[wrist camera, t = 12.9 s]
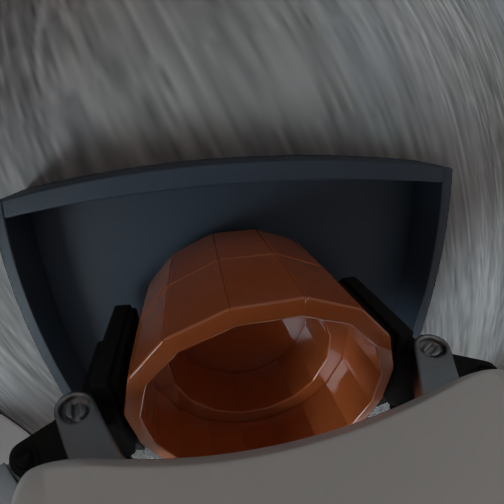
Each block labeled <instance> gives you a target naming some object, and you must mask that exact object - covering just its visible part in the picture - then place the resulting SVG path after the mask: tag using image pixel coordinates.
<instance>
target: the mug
mask: <svg viewBox="0 0 504 504" xmlns="http://www.w3.org/2000/svg"><path fill="white" fill-rule="evenodd" d="M29 436H31V435H30V434H28V433H27V432H26V431H25V430H23V429H22V428H21V427H19V426H18V425H17V424H15V423H14V422H12V421H11V420H9V419H8V418H6V417H5V416H3V415H2V414H0V465H1V464H2V463H5V464H7V465H8V464H9V455H10V452H11V450H12V449H13V447H14V446H15V445H17V444H18V443H19V442H21V441H23V440H24V439H26V438H27V437H29Z"/></svg>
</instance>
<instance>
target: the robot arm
mask: <svg viewBox="0 0 504 504" xmlns="http://www.w3.org/2000/svg"><path fill="white" fill-rule="evenodd" d="M339 282H340V283H341V284H342V285H343V286H344V287H345V288H346V289H347V290H348V292H349V293H350V294H351V295H352V296H353V297H354V298H355V299H356V300H357V301H358V302H359V303H360V304H361V305H362V306H363V307H364V308H365V309H366V310H367V311H368V312H369V313H370V314H371V315H372V316H373V318H374V319H375V320H376V321H377V322H378V323H379V324H380V325H381V326H382V327H383V328H384V329H385V330H386V331H387V332H388V333H389V336H390V340H391V347H392V355H393V363H394V367H393V368H394V369H393V372H392V375H391V377H390V380H389V383H388V385H387V388H386V390H385V393H384V395H383V397H382V399H381V401H380V402H379V403H378V405H377V406H379V405H381V404H384V403H386V402H388V403H389V404H390V410H388V411H385V412H383V413H381V414H378V415H375V416H373V417H370V418H367V419H365V420H362V421H359V422H356V423H353V424H351V425H348V426H345V427H342V428H338V429H335V430H332V431H329V432H325V433H322V434H319V435H315V436H311V437H308V438H304V439H300V440H296V441H292V442H287V443H283V444H279V445H274V446H269V447H264V448H258V449H253V450H247V451H241V452H234V453H227V454H219V455H210V456H200V457H187V458H167V459H133V457H132V456H131V455H132V454H134V453H135V452H136V449H137V450H145V446H143V445H142V443H140V441H139V440H138V438H137V437H136V435H135V433H134V432H133V430H132V428H131V427H130V425H129V423H128V422H127V420H126V418H125V417H124V402H125V393H126V384H127V377H128V371H129V366H130V361H131V356H132V351H133V346H134V342H135V337H136V332H137V328H138V324H139V315H138V312H137V309H136V308H132V307H131V305H130V304H129V305H116V306H115V307H114V310H113V313H112V315H111V318H110V321H109V324H108V326H107V329H106V332H105V335H104V338H103V341H99V342H98V343H97V345H96V348H95V351H94V354H93V357H92V360H91V363H90V366H89V369H88V372H87V375H86V378H85V382H84V385H83V388H82V391H73V392H69V393H67V394H65V395H63V396H62V397H61V398H60V399H59V400H58V401H57V403H56V404H55V408H54V416H55V420H54V421H53V422H51V423H50V424H48V425H46V426H45V427H43V428H42V429H40V430H39V431H37V432H35V433H34V434H32V435H31V436H29V437H27V438H26V439H24V440H23V441H21V442H19V443H18V444H17V445H15V446H14V447H13V449H12V450H11V452H10V455H9V464H8V465H7V464H5V463H2V464H1V465H0V504H504V370H503V369H497V368H496V367H495V366H494V365H493V364H492V363H490V362H487V361H483V360H478V359H473V358H468V357H463V356H459V355H454V354H452V352H451V349H450V347H449V345H448V343H447V342H446V341H445V340H444V339H442V338H440V337H438V336H435V335H430V334H427V335H421V336H419V337H418V338H416V339H415V338H414V337H413V333H414V332H413V331H412V330H411V329H410V328H409V327H408V326H407V325H406V324H405V323H404V322H403V321H402V320H401V319H400V318H399V317H398V316H397V315H396V314H395V313H394V312H393V311H392V310H390V309H389V308H388V307H387V306H386V305H385V304H384V303H383V302H382V301H381V300H380V299H379V298H378V297H377V296H376V295H375V294H373V293H372V292H371V291H370V290H369V289H368V288H367V287H366V286H365V285H364V284H363V283H362V282H360V281H359V280H358V279H357V278H356V277H347V278H341V279H340V281H339Z"/></svg>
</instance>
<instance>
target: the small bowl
mask: <svg viewBox="0 0 504 504" xmlns="http://www.w3.org/2000/svg"><path fill="white" fill-rule="evenodd" d="M393 367H394V363H393V355H392V347H391V340H390V336H389V333H388V332H387V331H386V330H385V329H384V328H383V327H382V326H381V325H380V324H379V323H378V322H377V321H376V320H375V319H374V318H373V316H372V315H371V314H370V313H369V312H368V311H367V310H366V309H365V308H364V307H363V306H362V305H361V304H360V303H359V302H358V301H357V300H356V299H355V298H354V297H353V296H352V295H351V294H350V293H349V292H348V290H347V289H346V288H345V287H344V286H343V285H342V284H341V283H340V282H339V281H338V280H337V279H336V278H335V277H334V276H333V275H332V274H331V273H330V272H329V271H328V270H327V269H326V268H325V267H324V266H323V265H322V264H321V263H320V262H319V261H318V260H317V259H315V258H314V257H313V256H312V255H311V254H310V253H309V252H308V251H307V250H306V249H305V248H304V247H303V246H301V245H300V244H299V243H298V242H296V241H295V240H292V239H288V238H285V237H282V236H279V235H276V234H272V233H269V232H266V231H263V230H256V229H251V230H240V231H230V232H220V233H214V234H210V235H208V236H206V237H204V238H202V239H200V240H198V241H196V242H194V243H192V244H190V245H189V246H187V247H185V248H183V249H181V250H179V251H177V252H175V253H174V255H172V256H171V257H170V258H169V259H168V261H167V262H166V263H165V264H164V266H163V267H162V268H161V269H160V271H159V272H158V273H157V274H156V276H155V277H154V278H153V280H152V281H151V282H150V283H149V285H148V287H147V291H146V295H145V299H144V303H143V307H142V311H141V315H140V319H139V324H138V328H137V332H136V337H135V342H134V346H133V351H132V356H131V361H130V366H129V371H128V377H127V384H126V393H125V402H124V417H125V418H126V420H127V422H128V423H129V425H130V427H131V428H132V430H133V432H134V433H135V435H136V437H137V438H138V440H139V441H140V443H142V445H143V446H145V447H146V448H148V449H149V450H151V451H152V452H154V453H155V454H157V455H159V456H160V457H162V458H163V459H167V458H187V457H200V456H210V455H219V454H227V453H234V452H241V451H247V450H253V449H258V448H264V447H269V446H274V445H279V444H283V443H287V442H292V441H296V440H300V439H304V438H308V437H311V436H315V435H319V434H322V433H325V432H329V431H332V430H335V429H338V428H342V427H345V426H348V425H351V424H353V423H356V422H359V421H362V420H365V419H366V418H367V416H368V415H369V414H370V413H371V412H372V411H373V409H374V408H375V407H376V406H377V405H378V403H379V402H380V401H381V399H382V397H383V395H384V393H385V390H386V388H387V385H388V383H389V380H390V377H391V375H392V372H393V369H394V368H393Z"/></svg>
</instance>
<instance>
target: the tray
mask: <svg viewBox="0 0 504 504" xmlns="http://www.w3.org/2000/svg"><path fill="white" fill-rule="evenodd" d="M451 184H452V168H449V167H445V166H440V165H436V164H431V163H426V162H421V161H415V160H405V159H393V158H379V157H362V156H335V155H276V156H248V157H230V158H216V159H203V160H192V161H182V162H173V163H164V164H156V165H148V166H141V167H134V168H127V169H121V170H115V171H109V172H103V173H97V174H92V175H87V176H82V177H77V178H72V179H67V180H63V181H58V182H54V183H49V184H45V185H41V186H37V187H33V188H29V189H25V190H22V191H20V192H17V193H15V194H12V195H10V196H7V197H5V198H2V199H0V251H1V255H2V258H3V262H4V265H5V268H6V271H7V274H8V278H9V280H10V283H11V286H12V289H13V292H14V295H15V297H16V300H17V303H18V305H19V308H20V310H21V313H22V315H23V317H24V320H25V322H26V324H27V327H28V329H29V331H30V333H31V335H32V338H33V340H34V342H35V344H36V346H37V348H38V350H39V352H40V354H41V356H42V358H43V360H44V362H45V363H46V365H47V367H48V369H49V371H50V372H51V374H52V376H53V378H54V379H55V381H56V383H57V385H58V386H59V388H60V389H61V391H62V393H63V394H64V395H65V394H67V393H69V392H73V391H82V388H83V385H84V382H85V378H86V375H87V372H88V369H89V366H90V363H91V360H92V357H93V354H94V351H95V348H96V345H97V343H98V342H99V341H103V338H104V335H105V332H106V329H107V326H108V324H109V321H110V318H111V315H112V313H113V310H114V307H115V306H116V305H129V304H130V305H131V307H132V308H136V309H137V312H138V315H139V319H140V315H141V311H142V307H143V303H144V299H145V295H146V291H147V287H148V285H149V283H150V282H151V281H152V280H153V278H154V277H155V276H156V274H157V273H158V272H159V271H160V269H161V268H162V267H163V266H164V264H165V263H166V262H167V261H168V259H169V258H170V257H171V256H172V255H174V253H175V252H177V251H179V250H181V249H183V248H185V247H187V246H189V245H190V244H192V243H194V242H196V241H198V240H200V239H202V238H204V237H206V236H208V235H210V234H214V233H220V232H230V231H240V230H251V229H256V230H263V231H266V232H269V233H272V234H276V235H279V236H282V237H285V238H288V239H292V240H295V241H296V242H298V243H299V244H300V245H301V246H303V247H304V248H305V249H306V250H307V251H308V252H309V253H310V254H311V255H312V256H313V257H314V258H315V259H317V260H318V261H319V262H320V263H321V264H322V265H323V266H324V267H325V268H326V269H327V270H328V271H329V272H330V273H331V274H332V275H333V276H334V277H335V278H336V279H337V280H338V281H340V279H341V278H347V277H356V278H357V279H358V280H359V281H360V282H362V283H363V284H364V285H365V286H366V287H367V288H368V289H369V290H370V291H371V292H372V293H373V294H375V295H376V296H377V297H378V298H379V299H380V300H381V301H382V302H383V303H384V304H385V305H386V306H387V307H388V308H389V309H390V310H392V311H393V312H394V313H395V314H396V315H397V316H398V317H399V318H400V319H401V320H402V321H403V322H404V323H405V324H406V325H407V326H408V327H409V328H410V329H411V330H412V331H413V332H414V333H413V337H414V338H415V339H416V338H418V337H419V336H420V334H421V331H422V327H423V324H424V321H425V318H426V315H427V311H428V308H429V304H430V301H431V297H432V293H433V289H434V286H435V281H436V277H437V273H438V269H439V264H440V259H441V254H442V249H443V244H444V238H445V232H446V226H447V219H448V212H449V204H450V195H451Z"/></svg>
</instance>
